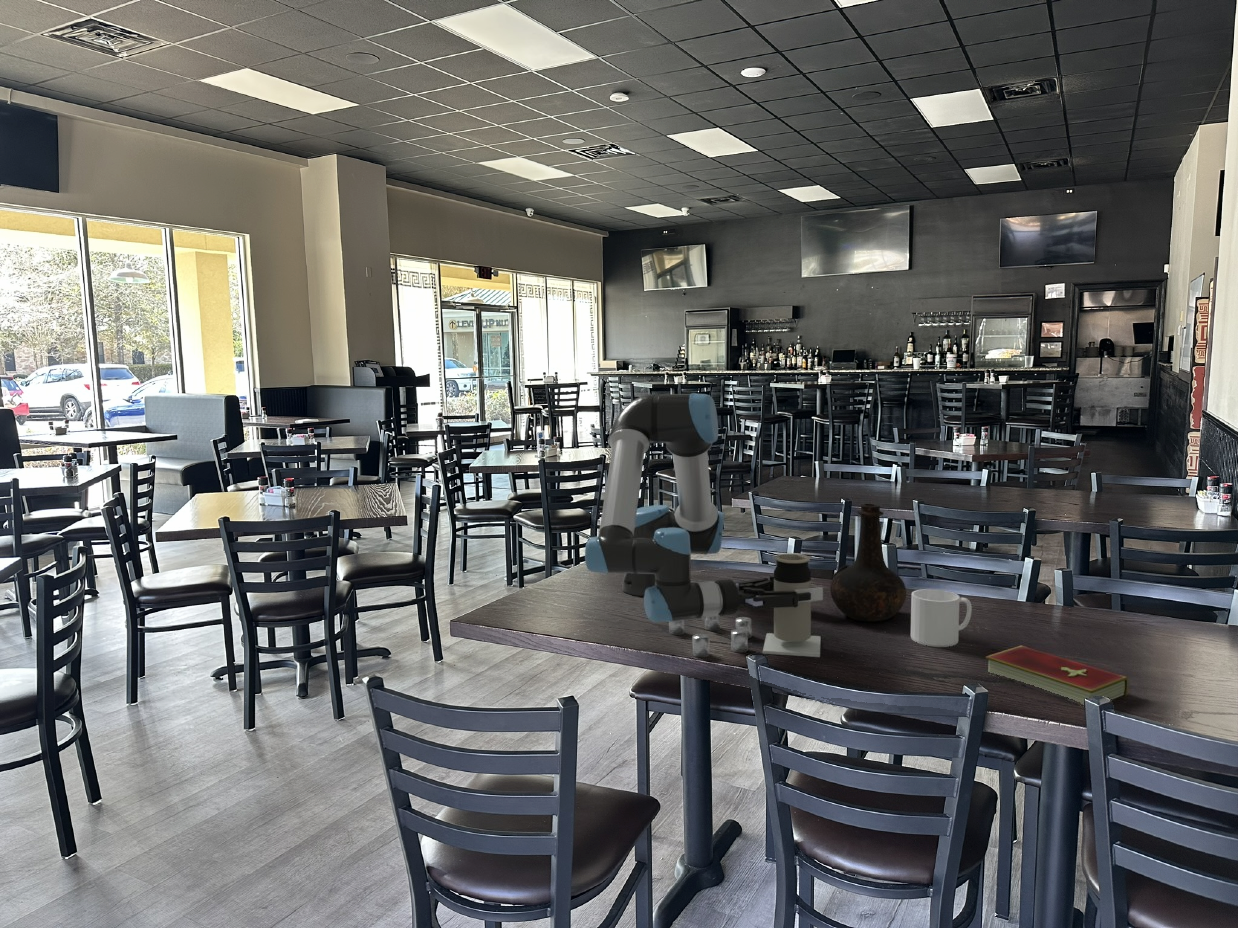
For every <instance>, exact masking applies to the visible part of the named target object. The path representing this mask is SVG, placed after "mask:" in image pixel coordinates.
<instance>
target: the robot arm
mask: <svg viewBox="0 0 1238 928" xmlns="http://www.w3.org/2000/svg"><path fill="white" fill-rule="evenodd" d="M718 438H719V422H718V413H717V408H716V404H715V401H714V398H713V397H712V396H711V395H709V394H706V393H695V392H692V393H671V394H670V393H667V394H665V393H663V394H661V393H660V394H655V393H653V394H651V393H650V394H645V395H641V396H639V397H637V398H635V399H633V400H632V401H631V402H630V403H628V404H627V405H626V406H625V407H624V408H623V409H622V410H621V411H620V413H618V415H617V416H616V419H615V420H614V422H613V424H612V426H611V429H610V434H609V439H608V444H609V446H610V448H611V453H610V454H611V455H610V461H609V468H608V475H607V479H606V485H605V492H604V498H603V505H602V512H601V518H600V524H599V530H598V536H593V537H589V538H588V539H587V540H586V544H585V548H584V549H585V550H584V561H585V566H586V568H587V570H588V571H589V572H591V573H600V574H624V575H623V579H622V586H621V587H622V592H625V593H626V594H628V595H632V596H639V597H640V596H641V597H643V608H644V611H645V614H646V617H647V619H648V620H649V621H650V622H653V623H664V622H665V623H666V622H667V623H669V622H672V621H679V620H684V621H687V620H692V619H694V620H695V619H701V620H702V621H703V620H704V621H705V619H706V617H713V616H717V615H720V617H722V616H732V615H735V614H737V612H738V611H739V608H740V607H741V606H743V607H747V608H748V607H749V608H751V607H752V610H756V611H757V610H762V609H774V608H780V607H794V608H795V607H797V606H798V603H800V602H810V601H811V602H816V601H823V600H824V587H822V586H818V587H811V588H807V589H797V590H794V591H793V592H790V591H774V575H772V576H769V578H767V577H763V578H758V579H757V578H756V579H751V580H744V581H734V580H732V579H719V580H715V581H713V580H708V581H707V580H706V581H698V582H692V579H691V578H692V575H691V574H692V572H691V571H692V567H691V565H692V561H691V560H692V559H691V557H692V556H691V555H710V554H711V555H712V554H718V553H719V552H720V550H721V548H722V541H723V531H724V512H722V511H719V510H718V508H717V507H716V505H715V504H714V503H713V502H712V494H711V493H712V492H711V481H710V470H709V468H710V467H709V456H708V455H709V454H708V451H709V450H710V449H711V448H712V445H713V443H715V442H717V441H718ZM651 443H658V444H659V443H661V444H662V443H663V444H665V447H666V450H667V451H668V452H669V453H670V454H672V456H673V457H672V458H673V464H674V466H673V467H674V472H675V473H674V474H675V483H676V490H677V499H678V506H677V507H676V508H675V511H673V510H671V509H670V507H669V505H666V504H654V505H648V506H642V507H639V508H638V504H639V497H640V489H641V488H640V487H641V479H642V472H643V464H644V456H645V453H647V452H648V450H649V449H650V444H651Z"/></svg>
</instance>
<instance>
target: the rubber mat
mask: <svg viewBox="0 0 1238 928" xmlns="http://www.w3.org/2000/svg"><path fill="white" fill-rule="evenodd" d="M762 654H766V655H768V654H769V655H782V656H783V655H784V656H794V657H795V656H797V657H811V658H813V657H814V658H820V657H821V635H811V637H810V638H809V639H807V640H805V641H801V642H787V641H783V640H780V639H778V638H776V637H775V636H774V632H773V633H772V632H771V633H770V632H769V633H768V632H767V633H766V635H765V639H764V644H763V649H762Z"/></svg>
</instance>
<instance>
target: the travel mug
mask: <svg viewBox="0 0 1238 928" xmlns="http://www.w3.org/2000/svg"><path fill="white" fill-rule="evenodd" d="M774 559H775V561H776V566H775V569H774V571H773V577H774V591H790V592H793V591H794V590H797V589H807V588H812V572H811V569H810V567H809V563H810V560H811V557H810V556H809V555H805V554H803V555H802V553H797V554H786V553H780V554H778V555H777V554H776V556H775V557H774ZM808 562H809V563H808ZM811 619H812V601H810V602H800V603H798V606H797V607H795V608H794V607H780V608H773V633H774V636H775V637H776V638H778V639H780V640H783V641H787V642H801V641H805V640H807V639H809V638H810V637H811V636H812V635H811V634H812V627H811V626H812V623H811V622H812V620H811Z"/></svg>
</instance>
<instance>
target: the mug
mask: <svg viewBox="0 0 1238 928" xmlns="http://www.w3.org/2000/svg"><path fill="white" fill-rule="evenodd" d="M960 603H965V605H966V615H965V618H964V620H963V622H962V623H961V624H960V623H959V621H960ZM910 604H911V605H910V608H911V609H910V639H911V640H912V641H913V642H914V643H916V642H917V644H920V645H921V646H926V645H927V646H926V647H931V648H933V647H934V648H949V646H950V647H953V645H954V646H956V645H957V644H959V631H962V630H963V629H966V627H967V626H968V625H969V623H970V621H971V618H972V612H973V611H972V603H971V601H970V600H969V599H968V598H967V597H960V595H959V594H957V593H955V592H952V591H949V590H944V589H936V588H935V589H934V588H924V589H923V588H922V589H917V590H914V591H912V592H911V603H910Z"/></svg>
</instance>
